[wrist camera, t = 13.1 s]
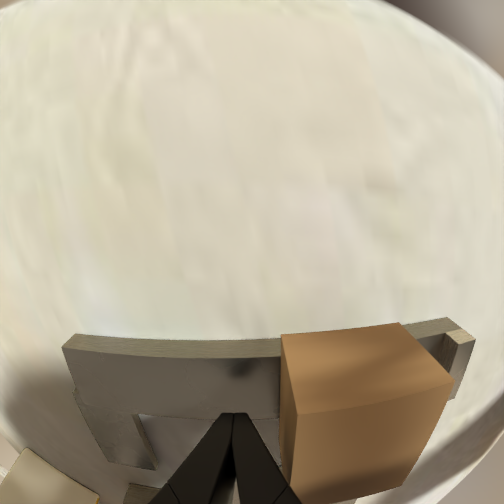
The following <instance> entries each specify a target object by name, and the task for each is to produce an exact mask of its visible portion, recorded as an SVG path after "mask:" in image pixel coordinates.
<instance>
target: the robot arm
mask: <svg viewBox="0 0 504 504" xmlns="http://www.w3.org/2000/svg"><path fill="white" fill-rule="evenodd" d="M236 481H237V487H238V494H239V500H240V504H302V502H301V501H300V499H299V498H298V497H297V495H296V494H295V492H294V491H293V489H292V488H291V486H289V483H288V482H287V480H286V479H285V477H284V475H283V474H282V472H281V470H280V469H279V467H278V466H277V464H276V462H275V461H274V459H273V457H272V456H271V454H270V452H269V451H268V449H267V447H266V445H265V444H264V442H263V440H262V439H261V437H260V435H259V433H258V431H257V430H256V428H255V426H254V424H253V423H252V421H251V419H250V417H249V415H248V414H247V413H246V412H238V413H221V414H220V415H219V417H218V418H217V419H216V421H215V422H214V423H213V425H212V426H211V427H210V429H209V430H208V431H207V433H206V434H205V435H204V437H203V438H202V439H201V440H200V442H199V443H198V444H197V446H196V447H195V448H194V449H193V451H192V452H191V453H190V455H189V456H188V457H187V458H186V460H185V461H184V462H183V463H182V465H181V466H180V467H179V468H178V469H177V471H176V472H175V473H174V474H173V476H172V477H171V478H170V479H169V480H168V483H166V484H165V485H164V486H163V487H162V488H161V490H160V491H159V492H158V493H157V494H156V495H155V496H154V497H153V498H152V499H151V500H150V501H149V502H148V503H147V504H232V501H233V495H234V488H235V482H236Z"/></svg>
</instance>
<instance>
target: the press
mask: <svg viewBox="0 0 504 504" xmlns="http://www.w3.org/2000/svg"><path fill="white" fill-rule="evenodd" d="M402 326H403V327H404V328H405V329H406V330H407V331H408V332H409V333H410V334H411V335H412V336H413V337H414V338H415V339H416V340H417V341H418V342H419V343H420V344H421V345H422V346H423V347H424V348H425V349H426V350H427V351H428V352H429V353H430V354H431V355H432V356H433V358H434V359H435V360H436V361H437V362H438V363H439V364H440V365H441V366H442V367H443V368H444V369H445V370H446V371H447V372H448V373H449V374H450V375H451V376H452V378H453V379H454V380H455V383H454V386H453V388H452V391H451V393H450V396H449V398H448V400H447V401H449V400H451V399H454V398H455V396H456V393H457V391H458V389H459V386H460V384H461V381H462V379H463V376H464V373H465V371H466V368H467V365H468V362H469V359H470V356H471V353H472V350H473V347H474V344H475V340H476V339H475V338H474V337H472V336H471V335H470V334H469V333H467V332H466V331H465V330H463V329H462V328H461V327H459V326H458V325H457V324H456V323H454V322H453V321H452V320H450V319H449V318H448V317H445V318H440V319H435V320H430V321H424V322H419V323H413V324H407V325H402ZM61 348H62V351H63V353H64V356H65V359H66V362H67V365H68V367H69V370H70V373H71V375H72V378H73V380H74V383H75V385H76V389H75V390H74V391H73V395H74V397H75V400H76V402H77V404H78V406H79V408H80V410H81V412H82V414H83V416H84V418H85V420H86V422H87V424H88V426H89V428H90V430H91V432H92V434H93V436H94V437H95V439H96V441H97V443H98V444H99V446H100V448H101V450H102V451H103V453H104V455H105V456H106V458H107V460H108V461H109V462H113V463H118V464H122V465H127V466H132V467H137V468H143V469H149V470H155V471H156V470H157V467H158V461H157V459H156V457H155V454H154V452H153V450H152V448H151V445H150V443H149V441H148V438H147V436H146V434H145V431H144V429H143V426H142V424H141V421H140V418H139V416H138V414H145V415H154V416H164V417H175V418H190V419H217V418H218V417H219V415H220V414H221V413H238V412H246V413H247V414H248V415H249V417H250V419H270V418H279V417H280V374H281V338H277V339H256V340H211V341H197V340H153V339H133V338H117V337H104V336H93V335H83V334H74V335H73V336H72V337H71V338H70V339H69V340H68V341H67V342H66V343H65V344H64V345H63V346H62V347H61ZM279 469H280V470H281V472H282V467H279ZM282 474H283V472H282ZM160 490H161V489H158V488H152V487H146V486H141V485H136V484H131V483H130V484H129V487H128V490H127V492H126V495H125V498H124V501H123V504H147V503H148V502H149V501H150V500H151V499H152V498H153V497H154V496H155V495H156V494H157V493H158V492H159V491H160ZM356 500H357V499H352V500H348V501H343V502H338V503H333V504H354V503H355V501H356ZM232 504H240V500H239V494H238V487H237V481H236V482H235V488H234V495H233V501H232Z"/></svg>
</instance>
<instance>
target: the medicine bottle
mask: <svg viewBox="0 0 504 504" xmlns="http://www.w3.org/2000/svg"><path fill="white" fill-rule="evenodd" d="M98 501H99V495H98V494H96V493H95V492H93V491H91V490H89V489H88V488H86V487H84V486H82V485H81V484H79V483H77V482H76V481H74V480H73V479H71V478H69V477H68V476H66V475H65V474H63V473H62V472H60V471H59V470H57V469H56V468H54V467H53V466H51V465H50V464H49V463H47V462H46V461H44V460H43V459H42V458H40V457H39V456H38V455H36V454H35V453H34V452H33V451H31V450H30V449H29V448H25V449H24V450H23V451H22V453H21V454H20V456H19V457H18V459H17V460H16V462H15V463H14V465H13V466H12V468H11V469H10V471H9V472H8V474H7V475H6V477H5V478H4V480H3V481H2V483H1V485H0V504H97V503H98Z"/></svg>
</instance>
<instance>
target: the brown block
mask: <svg viewBox="0 0 504 504" xmlns="http://www.w3.org/2000/svg"><path fill="white" fill-rule="evenodd" d="M454 383H455V380H454V379H453V378H452V376H451V375H450V374H449V373H448V372H447V371H446V370H445V369H444V368H443V367H442V366H441V365H440V364H439V363H438V362H437V361H436V360H435V359H434V358H433V356H432V355H431V354H430V353H429V352H428V351H427V350H426V349H425V348H424V347H423V346H422V345H421V344H420V343H419V342H418V341H417V340H416V339H415V338H414V337H413V336H412V335H411V334H410V333H409V332H408V331H407V330H406V329H405V328H404V327H403V326H402V325H401V324H400V323H399V322H398V323H391V324H384V325H377V326H369V327H361V328H352V329H343V330H333V331H322V332H310V333H297V334H281V374H280V417H279V445H280V454H281V463H282V472H283V475H284V477H285V479H286V480H287V482H288V483H289V486H291V488H292V489H293V491H294V492H295V494H296V495H297V497H298V498H299V499H300V501H301V502H302V504H333V503H338V502H343V501H348V500H352V499H357V498H361V497H365V496H369V495H372V494H376V493H379V492H383V491H386V490H389V489H393V488H396V487H399V486H401V485H402V484H403V482H404V481H405V479H406V478H407V476H408V475H409V473H410V471H411V470H412V468H413V466H414V465H415V463H416V462H417V460H418V458H419V456H420V455H421V453H422V451H423V449H424V448H425V446H426V444H427V442H428V440H429V438H430V436H431V434H432V432H433V431H434V429H435V427H436V424H437V422H438V420H439V418H440V416H441V414H442V412H443V410H444V407H445V405H446V403H447V400H448V398H449V396H450V393H451V391H452V388H453V386H454Z"/></svg>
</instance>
